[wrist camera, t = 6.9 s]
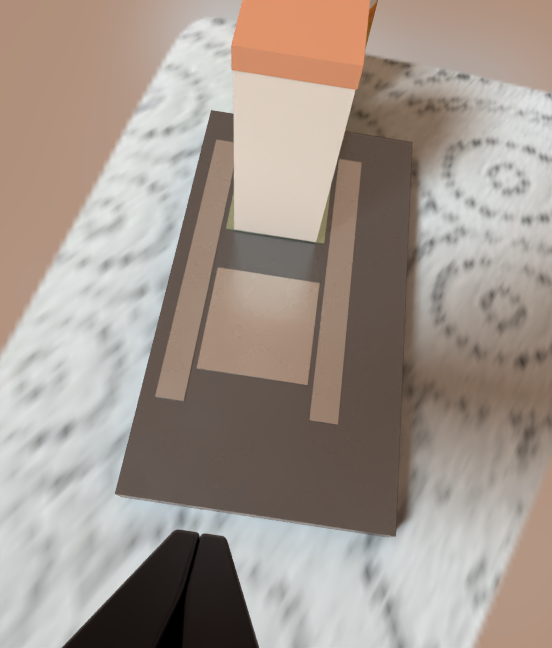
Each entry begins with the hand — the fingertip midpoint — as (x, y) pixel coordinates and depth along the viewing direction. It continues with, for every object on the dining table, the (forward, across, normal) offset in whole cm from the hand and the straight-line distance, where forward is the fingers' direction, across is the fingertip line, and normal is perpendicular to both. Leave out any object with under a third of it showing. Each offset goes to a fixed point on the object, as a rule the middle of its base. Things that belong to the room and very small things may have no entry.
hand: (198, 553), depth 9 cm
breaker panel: (+18, -1, +1) cm, 18 cm away
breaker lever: (+20, 0, -3) cm, 20 cm away
